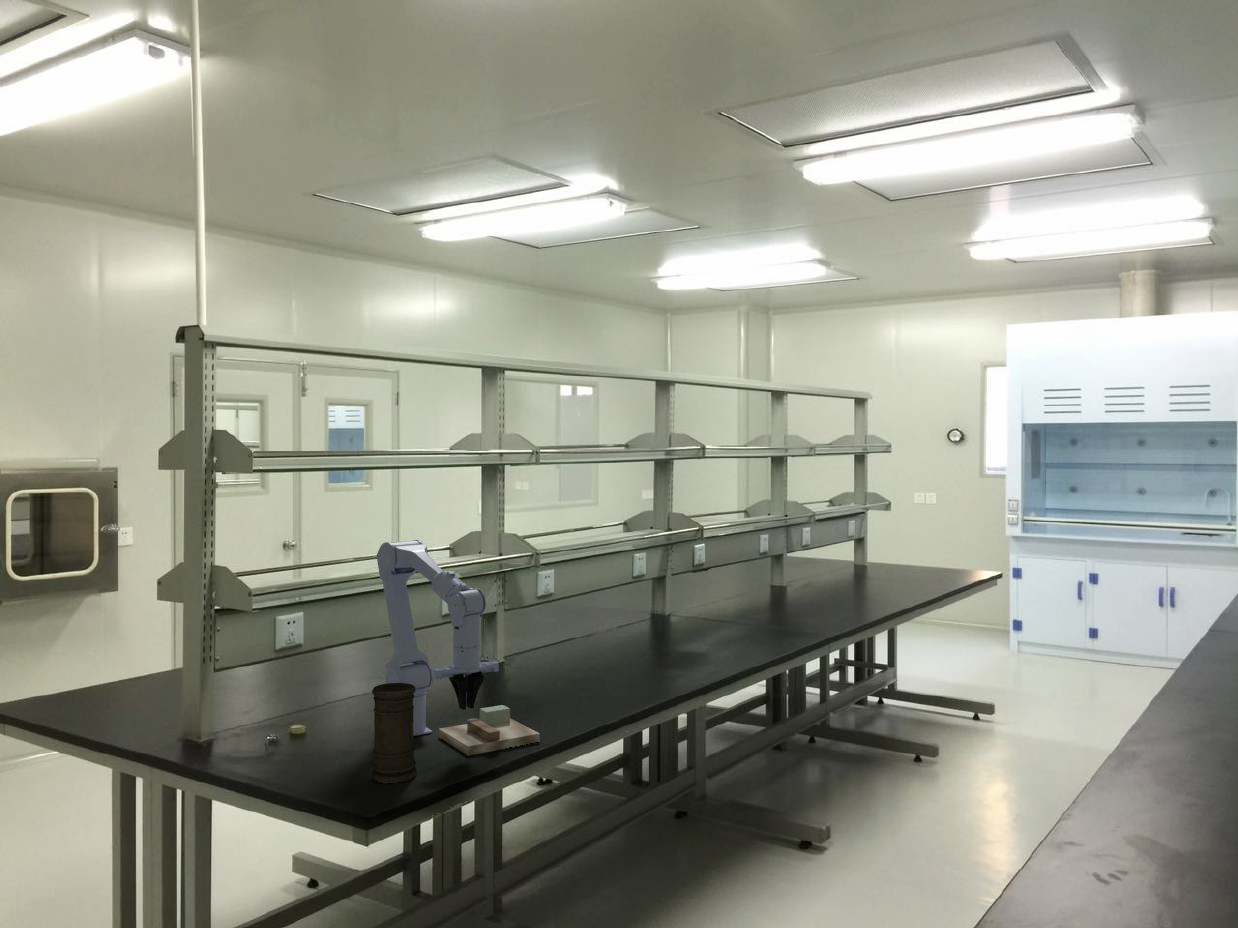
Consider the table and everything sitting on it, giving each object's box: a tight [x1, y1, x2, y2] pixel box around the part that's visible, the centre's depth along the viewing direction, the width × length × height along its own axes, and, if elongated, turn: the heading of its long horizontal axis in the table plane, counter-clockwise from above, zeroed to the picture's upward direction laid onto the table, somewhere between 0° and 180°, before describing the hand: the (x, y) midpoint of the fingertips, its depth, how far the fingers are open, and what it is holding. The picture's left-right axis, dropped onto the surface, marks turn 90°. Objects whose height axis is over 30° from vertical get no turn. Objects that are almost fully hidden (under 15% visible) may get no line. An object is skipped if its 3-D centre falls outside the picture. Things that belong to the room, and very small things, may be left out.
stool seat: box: [438, 717, 541, 756], centre depth 224 cm, size 18×16×2 cm
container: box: [370, 683, 417, 784], centre depth 199 cm, size 9×9×18 cm
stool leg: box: [466, 718, 500, 742], centre depth 220 cm, size 12×3×2 cm, turn 34°
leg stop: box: [479, 704, 511, 725], centre depth 231 cm, size 6×4×3 cm, turn 124°
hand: (466, 707), depth 215 cm, fingers closed
